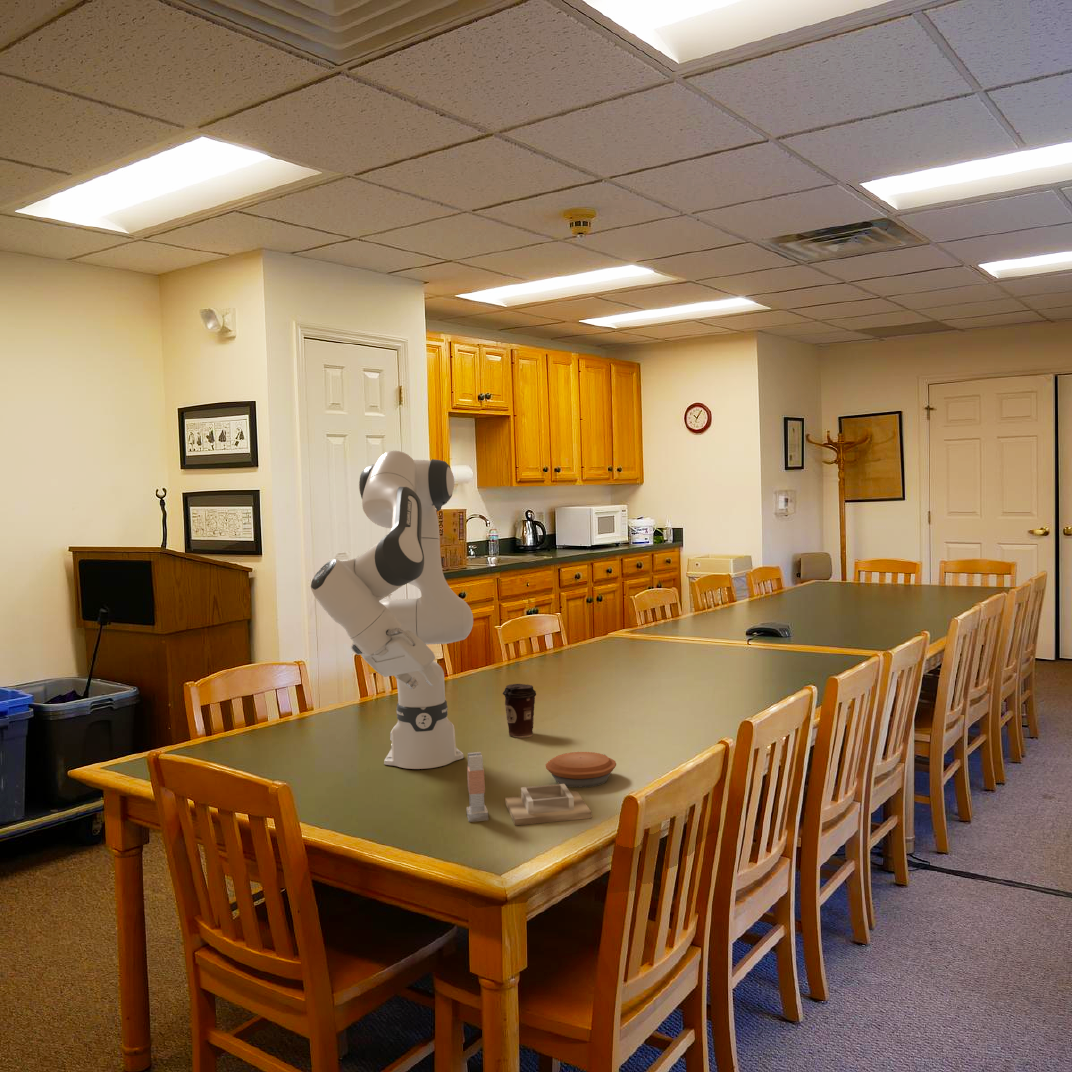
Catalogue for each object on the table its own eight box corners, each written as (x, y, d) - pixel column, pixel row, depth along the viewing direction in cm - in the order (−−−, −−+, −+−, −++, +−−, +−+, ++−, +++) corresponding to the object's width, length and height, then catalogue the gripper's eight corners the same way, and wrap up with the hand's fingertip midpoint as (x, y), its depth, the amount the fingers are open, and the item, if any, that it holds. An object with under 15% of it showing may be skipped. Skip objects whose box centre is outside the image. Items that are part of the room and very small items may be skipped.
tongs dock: (505, 803, 194) (504, 785, 194) (577, 797, 197) (576, 779, 197) (515, 825, 182) (514, 806, 181) (591, 818, 184) (590, 799, 184)
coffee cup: (508, 740, 243) (506, 690, 242) (500, 733, 251) (498, 684, 250) (541, 737, 245) (539, 687, 244) (532, 729, 253) (530, 681, 252)
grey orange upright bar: (466, 814, 189) (464, 752, 188) (485, 812, 189) (483, 750, 189) (468, 821, 184) (466, 758, 184) (488, 820, 185) (485, 756, 184)
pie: (612, 768, 217) (611, 746, 217) (620, 789, 201) (620, 766, 201) (544, 771, 216) (544, 749, 216) (547, 792, 201) (547, 769, 201)
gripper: (411, 615, 174) (459, 669, 177) (369, 628, 191) (414, 677, 194) (388, 639, 171) (438, 693, 174) (347, 649, 188) (393, 699, 191)
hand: (425, 685), depth 184 cm, fingers open, 8 cm apart
